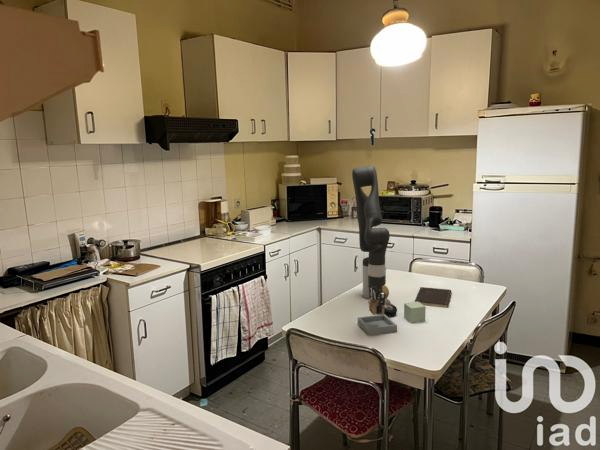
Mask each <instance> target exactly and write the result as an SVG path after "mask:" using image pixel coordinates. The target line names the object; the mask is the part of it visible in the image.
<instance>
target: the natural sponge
mask: <svg viewBox="0 0 600 450" xmlns="http://www.w3.org/2000/svg"><path fill="white" fill-rule="evenodd" d="M382 289H383V293H385V294H386V296H385V298H386V299H388V297H389V294H390V290H389V288H388V286H387V285H386V284H385V285H384V286H382ZM377 298H379V297H377Z"/></svg>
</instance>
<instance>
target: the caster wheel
mask: <svg viewBox="0 0 600 450" xmlns="http://www.w3.org/2000/svg"><path fill="white" fill-rule="evenodd" d="M397 312H398V308H397V306H395V305H394V304H393V303H392V302H391V300H389V299H388V298H387V299H386V298H385V305H384V314H385V315H386V316H387V317H388V318H390V317H391V318H392V317H395V316H396V315H397ZM381 315H383V314H381Z"/></svg>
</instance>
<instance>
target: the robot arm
mask: <svg viewBox="0 0 600 450" xmlns="http://www.w3.org/2000/svg"><path fill="white" fill-rule="evenodd" d="M351 176H352V177H351V178H352V179H351V180H352V182H353V183H352V184H353V189H354V190H353V191H354V196H355V205H356V208H355V209H356V216H357V223H358V224H357V225H358V236H359V238H358V239H359V242H358V243H359V248H360V251H361V252H364V253H368V256H367V257H364V258H363V259H362V297H363V298H365V299H368V300H373V299H375V300H376V304H377V314H376V315H382V314H381V313H382V305H385V296H386V294H385V293H383V289H382V286H384V285H385V286H386V283H387V280H386V278H387V276H386V275H387V274H386V273H387V272H386V271H387V269H386V268H387V267H386V252H387V249H388V244H389V242H390V238H391V237H390V235H391V234H390V231H389V230H388V228H386V227H377V226H380V225H381V224H382V222H383V217H382V212H381V207H380V206H381V205H380V197H379V196H380V194H379V184H378V183H379V180H378V173H377V169H376V167H375V166H374V165H365V166H358V167H354V168H353V169H352V171H351ZM364 187H371V188H370V189H371V190H370V192H369V194H368V195H367V194H366V193H365V191H363V189H362V188H364ZM377 297H379V298H377ZM380 302H381V303H380Z"/></svg>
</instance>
